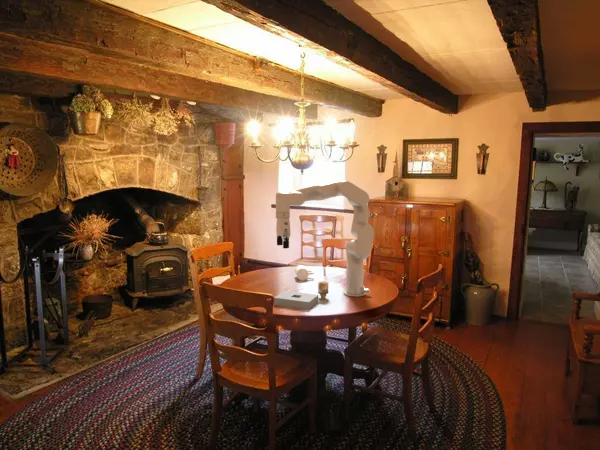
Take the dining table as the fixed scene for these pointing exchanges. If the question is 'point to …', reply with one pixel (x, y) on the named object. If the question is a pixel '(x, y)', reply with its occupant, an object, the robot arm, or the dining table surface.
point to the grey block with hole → (296, 300)
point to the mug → (302, 272)
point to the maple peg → (323, 289)
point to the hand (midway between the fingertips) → (282, 246)
